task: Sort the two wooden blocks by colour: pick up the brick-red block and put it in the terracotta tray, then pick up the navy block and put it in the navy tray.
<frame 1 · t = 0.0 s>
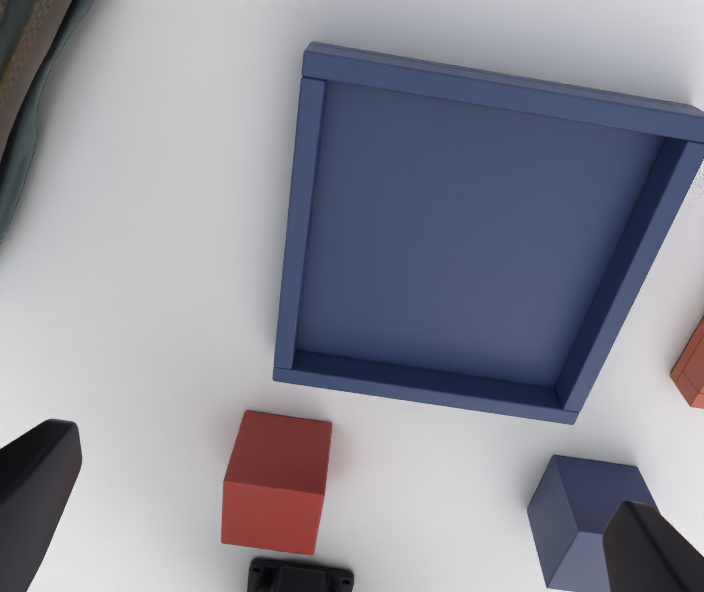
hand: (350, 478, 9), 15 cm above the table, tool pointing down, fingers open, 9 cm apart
red block: (285, 447, 30), on the table
blue block: (580, 489, 30), on the table
blue tray: (456, 246, 23), on the table
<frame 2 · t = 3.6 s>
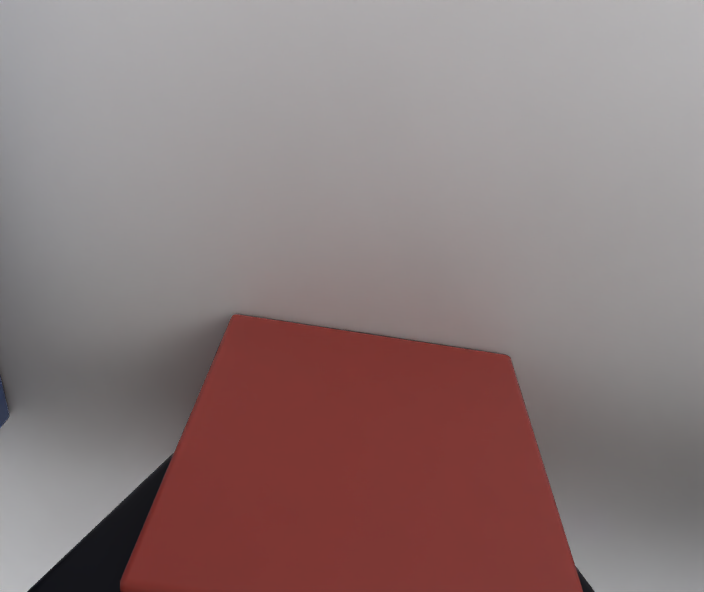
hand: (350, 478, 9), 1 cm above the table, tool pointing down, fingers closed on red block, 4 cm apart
red block: (352, 433, 10), on the table, touching gripper
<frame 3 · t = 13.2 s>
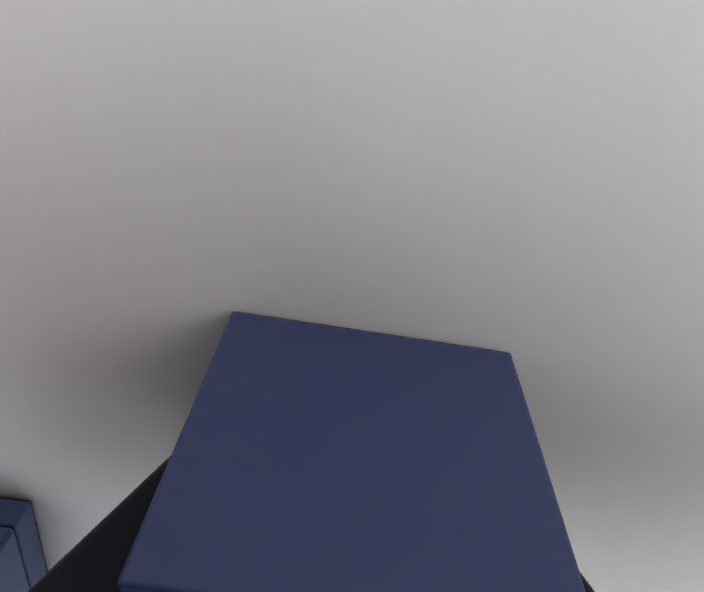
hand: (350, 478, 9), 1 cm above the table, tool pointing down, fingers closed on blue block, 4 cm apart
blue block: (352, 432, 10), on the table, touching gripper
when the fingers open (2 cm above the table, at t = 18.2 s): blue block stays where it is, resting on blue tray.
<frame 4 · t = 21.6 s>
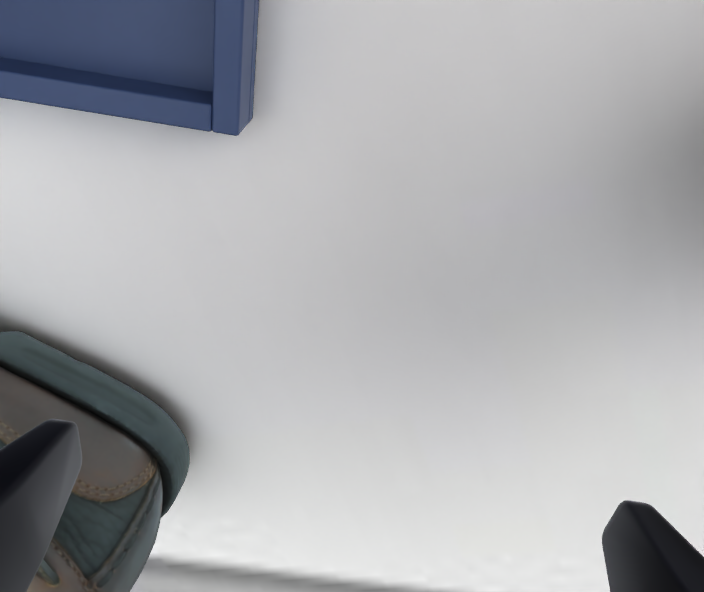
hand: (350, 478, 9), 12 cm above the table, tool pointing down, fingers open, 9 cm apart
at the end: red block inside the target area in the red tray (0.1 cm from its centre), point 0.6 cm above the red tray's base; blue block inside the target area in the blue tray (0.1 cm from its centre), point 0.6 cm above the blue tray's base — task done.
